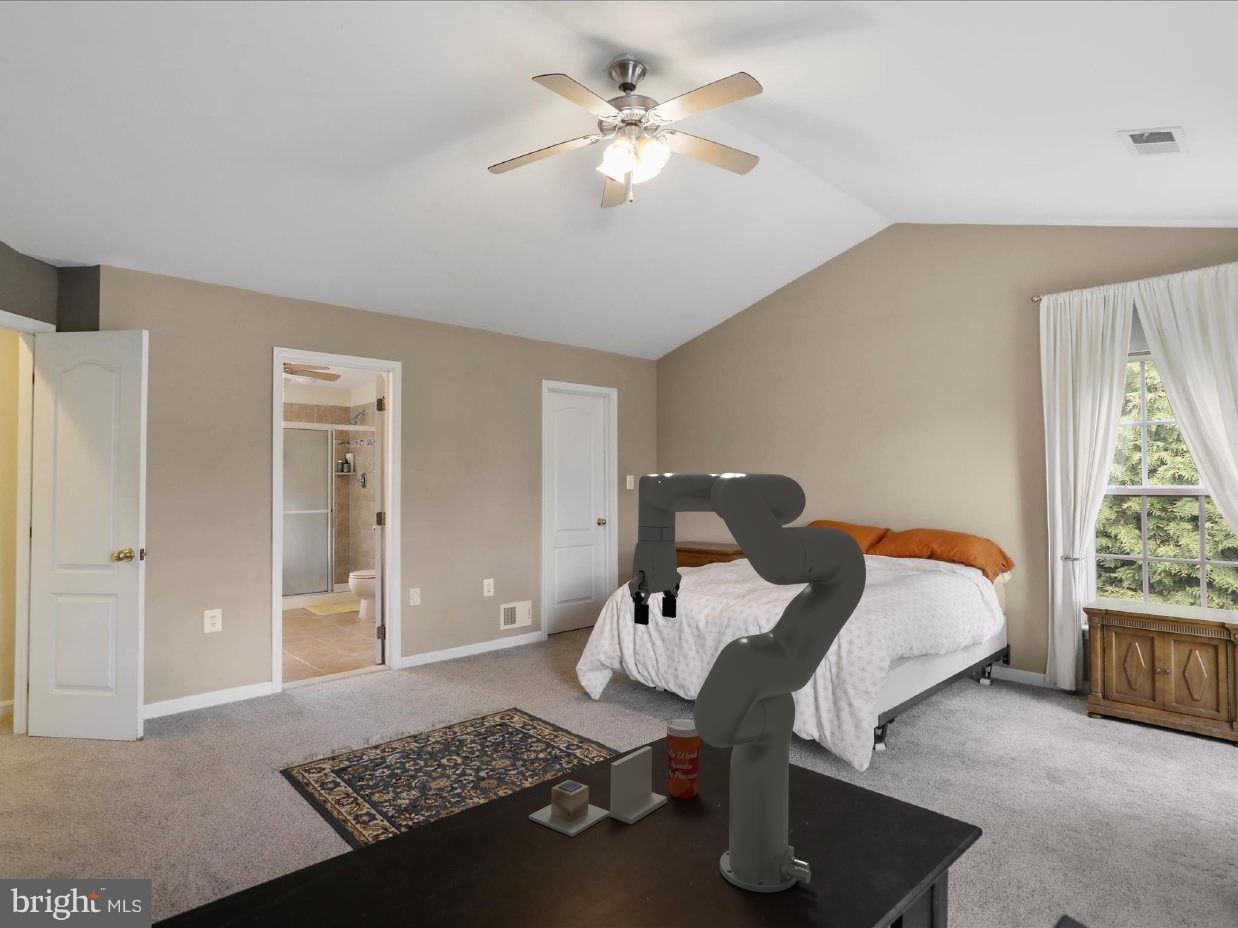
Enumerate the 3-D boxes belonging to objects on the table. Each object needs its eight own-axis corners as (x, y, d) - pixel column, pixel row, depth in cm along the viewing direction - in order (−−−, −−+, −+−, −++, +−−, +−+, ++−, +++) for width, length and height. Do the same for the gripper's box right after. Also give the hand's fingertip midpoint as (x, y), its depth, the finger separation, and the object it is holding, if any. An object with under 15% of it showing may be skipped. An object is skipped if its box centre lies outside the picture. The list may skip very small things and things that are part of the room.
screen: (666, 802, 143) (667, 751, 143) (631, 824, 133) (631, 770, 134) (646, 795, 146) (647, 745, 146) (610, 816, 136) (610, 763, 137)
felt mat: (610, 814, 137) (610, 811, 137) (572, 836, 128) (572, 833, 128) (567, 798, 144) (567, 795, 144) (528, 818, 135) (528, 815, 135)
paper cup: (660, 797, 145) (661, 728, 145) (669, 782, 152) (669, 716, 153) (698, 802, 143) (699, 732, 143) (705, 787, 150) (706, 720, 150)
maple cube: (588, 812, 137) (588, 785, 137) (570, 822, 133) (571, 793, 133) (568, 805, 140) (569, 778, 140) (551, 814, 136) (551, 786, 136)
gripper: (665, 532, 153) (664, 612, 153) (615, 536, 139) (614, 624, 139) (695, 534, 149) (694, 616, 148) (646, 538, 135) (645, 629, 134)
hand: (655, 620), depth 143 cm, fingers open, 9 cm apart
